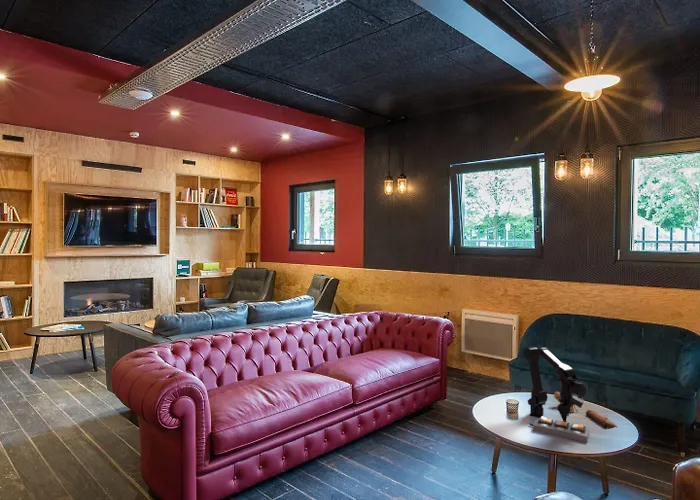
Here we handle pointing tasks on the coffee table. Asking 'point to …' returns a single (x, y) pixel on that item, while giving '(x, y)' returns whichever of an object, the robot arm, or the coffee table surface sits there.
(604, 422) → the sunglasses case
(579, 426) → the rocker right
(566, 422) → the rocker middle
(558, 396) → the lion figurine
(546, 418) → the block
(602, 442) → the coffee table surface
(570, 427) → the power strip
